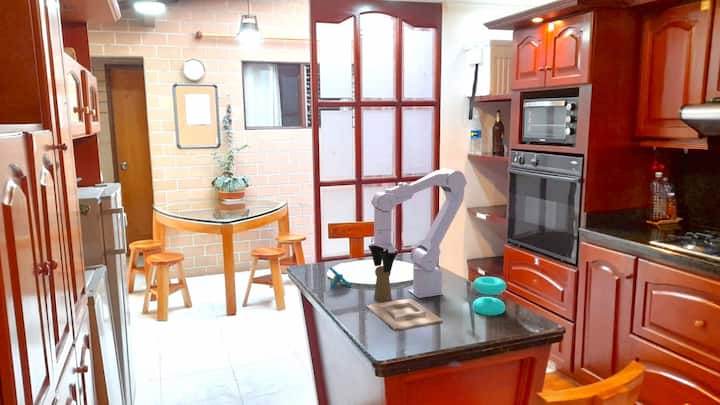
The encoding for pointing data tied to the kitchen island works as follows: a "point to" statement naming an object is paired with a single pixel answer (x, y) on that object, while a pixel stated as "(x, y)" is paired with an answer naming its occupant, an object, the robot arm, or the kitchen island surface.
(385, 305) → the socket board
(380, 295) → the cork
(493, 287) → the donuts
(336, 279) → the teal angled piece
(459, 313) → the kitchen island surface
